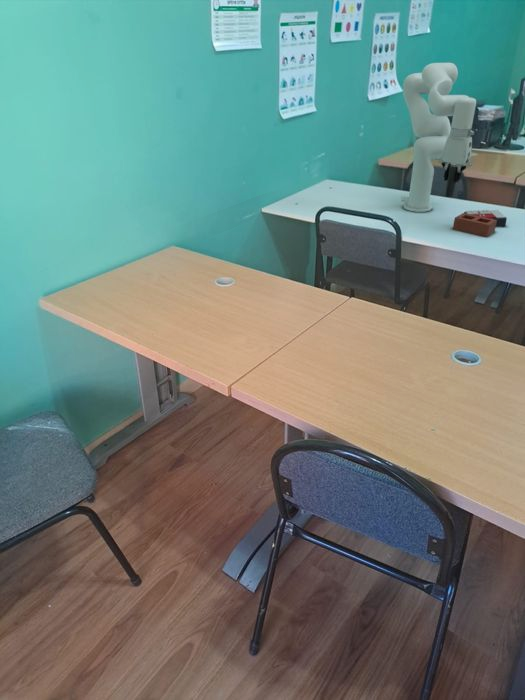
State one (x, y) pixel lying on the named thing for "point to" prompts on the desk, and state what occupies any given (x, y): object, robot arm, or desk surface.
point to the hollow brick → (474, 224)
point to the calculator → (490, 216)
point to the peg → (451, 181)
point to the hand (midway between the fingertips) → (451, 180)
